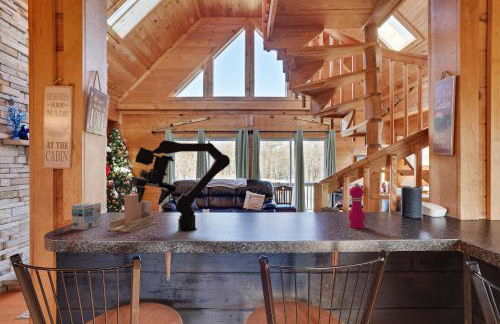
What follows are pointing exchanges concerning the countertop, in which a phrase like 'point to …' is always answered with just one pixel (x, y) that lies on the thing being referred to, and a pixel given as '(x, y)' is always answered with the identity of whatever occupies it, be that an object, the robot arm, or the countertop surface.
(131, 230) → the book trough
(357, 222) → the pepper mill
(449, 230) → the countertop surface
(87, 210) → the light bulb box
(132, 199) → the salmon pink rectangular block
